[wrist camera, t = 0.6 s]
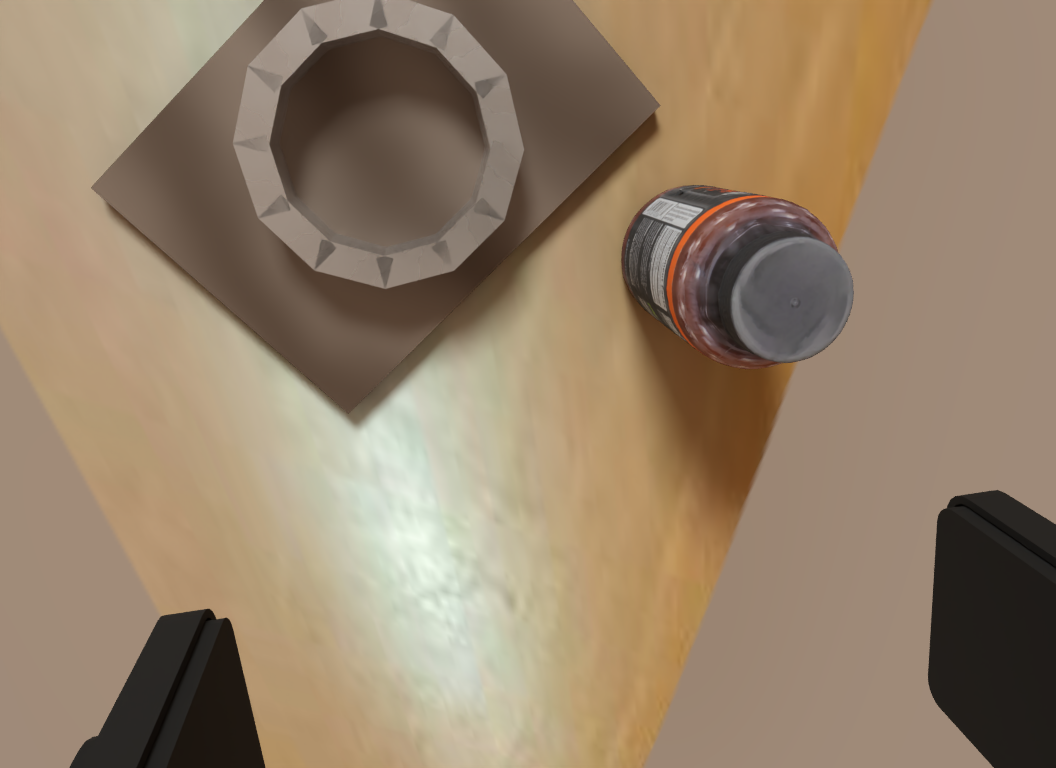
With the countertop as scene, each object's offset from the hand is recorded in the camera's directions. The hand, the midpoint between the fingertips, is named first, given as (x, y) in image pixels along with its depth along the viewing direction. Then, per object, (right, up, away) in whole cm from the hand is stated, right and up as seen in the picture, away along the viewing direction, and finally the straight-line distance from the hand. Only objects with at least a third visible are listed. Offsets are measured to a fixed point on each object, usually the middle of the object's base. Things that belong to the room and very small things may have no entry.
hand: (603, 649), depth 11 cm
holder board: (-7, +13, +23) cm, 27 cm away
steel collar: (-7, +13, +23) cm, 27 cm away
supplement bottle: (+6, +9, +26) cm, 28 cm away
